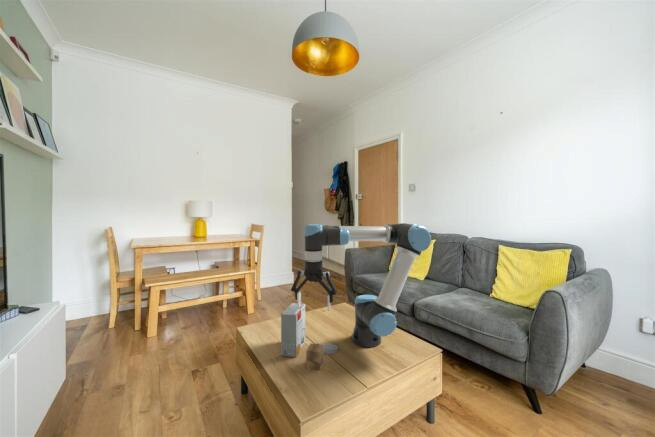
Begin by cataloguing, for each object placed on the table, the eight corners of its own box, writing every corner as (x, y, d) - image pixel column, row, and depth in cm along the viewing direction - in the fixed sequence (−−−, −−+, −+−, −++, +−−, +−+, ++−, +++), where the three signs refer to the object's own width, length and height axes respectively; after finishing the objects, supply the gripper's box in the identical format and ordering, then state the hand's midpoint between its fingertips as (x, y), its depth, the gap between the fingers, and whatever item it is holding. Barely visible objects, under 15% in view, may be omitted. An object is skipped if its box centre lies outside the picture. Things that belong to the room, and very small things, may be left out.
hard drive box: (296, 358, 124) (295, 315, 122) (280, 356, 125) (280, 314, 124) (305, 340, 139) (305, 303, 138) (291, 339, 140) (291, 302, 139)
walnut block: (323, 362, 120) (323, 344, 120) (319, 370, 114) (319, 352, 114) (310, 360, 122) (310, 343, 121) (306, 368, 116) (306, 350, 115)
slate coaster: (339, 346, 134) (339, 344, 134) (336, 356, 125) (336, 354, 125) (322, 344, 136) (322, 342, 136) (317, 353, 128) (317, 352, 127)
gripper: (343, 259, 116) (343, 307, 117) (289, 257, 122) (290, 302, 123) (340, 263, 109) (340, 314, 110) (283, 260, 114) (283, 309, 116)
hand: (313, 308), depth 116 cm, fingers open, 13 cm apart
